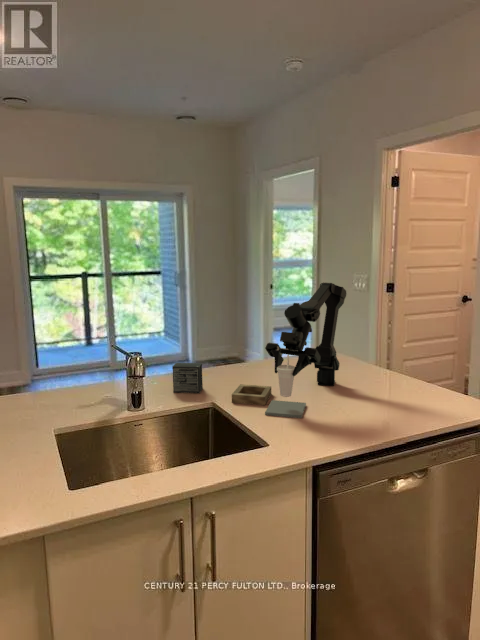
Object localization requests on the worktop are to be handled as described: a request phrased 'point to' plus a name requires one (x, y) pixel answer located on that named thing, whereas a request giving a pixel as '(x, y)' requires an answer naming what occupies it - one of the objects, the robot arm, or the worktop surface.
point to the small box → (187, 378)
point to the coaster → (286, 409)
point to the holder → (251, 394)
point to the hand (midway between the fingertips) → (284, 374)
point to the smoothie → (285, 378)
